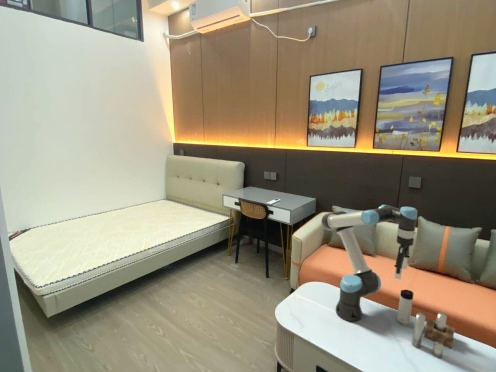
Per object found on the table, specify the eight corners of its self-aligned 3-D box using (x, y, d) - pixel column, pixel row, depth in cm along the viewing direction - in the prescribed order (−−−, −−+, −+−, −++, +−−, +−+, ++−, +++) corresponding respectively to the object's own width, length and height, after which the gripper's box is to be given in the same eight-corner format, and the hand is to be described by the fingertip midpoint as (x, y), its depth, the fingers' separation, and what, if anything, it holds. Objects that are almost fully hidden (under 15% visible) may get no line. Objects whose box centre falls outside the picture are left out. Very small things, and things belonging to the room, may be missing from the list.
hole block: (423, 337, 143) (425, 327, 142) (426, 326, 151) (428, 317, 149) (451, 348, 136) (453, 339, 134) (452, 337, 143) (454, 328, 142)
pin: (433, 337, 143) (437, 315, 140) (434, 333, 146) (438, 311, 143) (442, 341, 140) (446, 318, 137) (443, 337, 143) (447, 314, 140)
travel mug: (403, 326, 151) (408, 295, 147) (394, 318, 157) (398, 288, 153) (412, 324, 153) (416, 293, 148) (403, 316, 159) (407, 287, 155)
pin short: (431, 354, 132) (433, 344, 131) (432, 350, 135) (434, 340, 134) (441, 359, 129) (443, 349, 128) (442, 354, 132) (444, 344, 131)
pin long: (411, 345, 138) (415, 315, 134) (412, 340, 141) (417, 311, 137) (419, 349, 135) (424, 319, 131) (421, 344, 138) (426, 314, 134)
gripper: (408, 246, 126) (403, 285, 131) (418, 231, 144) (413, 266, 149) (391, 241, 131) (386, 280, 135) (402, 228, 149) (398, 262, 154)
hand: (400, 273), depth 142 cm, fingers open, 13 cm apart
